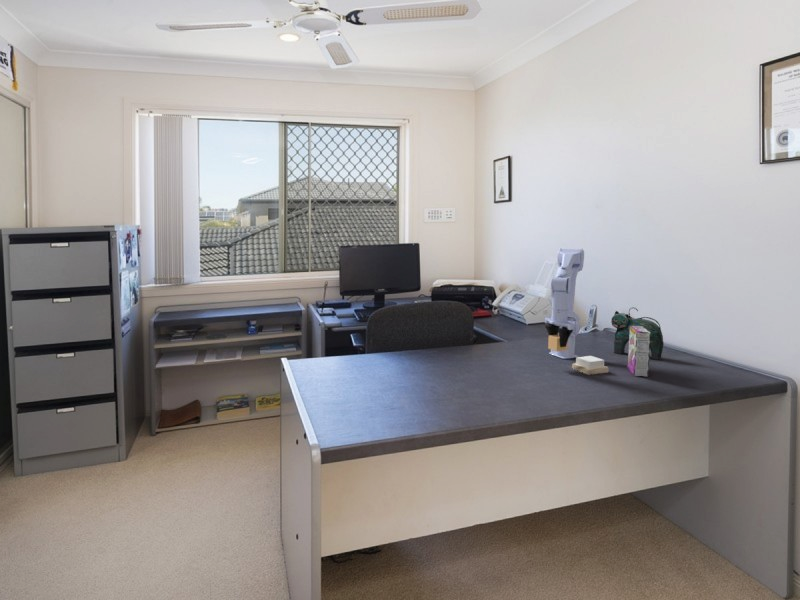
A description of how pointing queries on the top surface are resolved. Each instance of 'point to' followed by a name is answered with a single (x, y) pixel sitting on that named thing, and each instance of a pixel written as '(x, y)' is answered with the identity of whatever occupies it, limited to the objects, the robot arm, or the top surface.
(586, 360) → the off-white slab
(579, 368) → the maple base slab
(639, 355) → the candy bar box
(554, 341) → the tan cube
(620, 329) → the ceramic cat
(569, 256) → the robot arm
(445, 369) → the top surface
